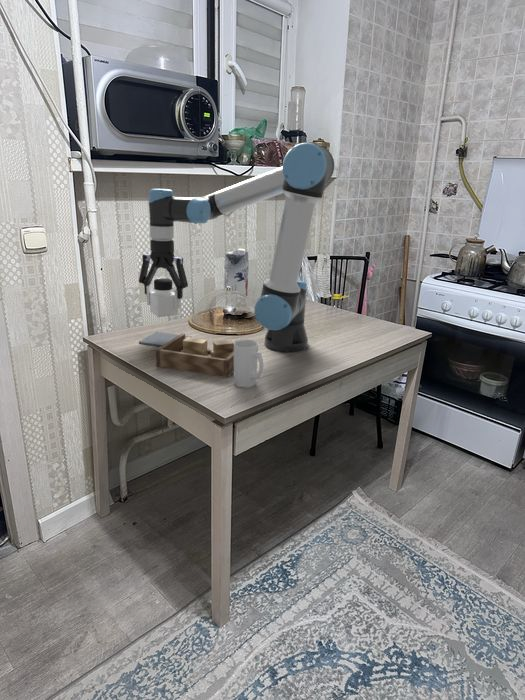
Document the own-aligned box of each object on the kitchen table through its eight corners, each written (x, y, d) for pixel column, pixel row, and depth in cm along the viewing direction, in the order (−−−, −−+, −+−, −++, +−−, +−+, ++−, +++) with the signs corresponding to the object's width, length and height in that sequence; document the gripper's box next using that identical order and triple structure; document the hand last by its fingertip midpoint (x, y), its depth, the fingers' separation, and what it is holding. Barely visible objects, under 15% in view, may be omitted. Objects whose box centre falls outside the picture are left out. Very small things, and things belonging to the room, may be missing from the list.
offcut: (207, 354, 156) (207, 339, 154) (202, 358, 152) (202, 343, 151) (187, 351, 157) (187, 337, 156) (183, 355, 154) (182, 340, 152)
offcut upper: (231, 348, 153) (231, 340, 152) (234, 352, 150) (234, 343, 149) (213, 350, 151) (213, 341, 150) (215, 353, 148) (215, 344, 147)
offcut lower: (237, 359, 153) (238, 350, 152) (234, 363, 149) (235, 354, 148) (213, 356, 154) (213, 348, 153) (210, 360, 151) (210, 352, 150)
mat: (191, 338, 170) (191, 336, 169) (175, 348, 159) (175, 347, 159) (156, 333, 173) (156, 331, 173) (138, 343, 162) (138, 341, 162)
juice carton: (222, 315, 198) (223, 250, 188) (228, 309, 207) (228, 246, 198) (243, 317, 197) (245, 251, 187) (248, 310, 206) (249, 247, 197)
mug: (228, 382, 135) (228, 342, 131) (245, 376, 139) (246, 337, 135) (253, 394, 128) (254, 352, 124) (270, 387, 133) (272, 347, 129)
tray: (246, 357, 153) (247, 342, 152) (227, 377, 138) (227, 360, 136) (182, 348, 160) (181, 333, 158) (156, 365, 144) (156, 349, 143)
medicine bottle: (178, 314, 162) (177, 280, 158) (158, 317, 158) (157, 282, 154) (169, 309, 167) (168, 275, 163) (150, 312, 163) (148, 277, 159)
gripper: (198, 240, 154) (198, 307, 162) (137, 235, 160) (140, 299, 168) (188, 243, 148) (188, 312, 155) (125, 237, 153) (128, 304, 161)
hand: (163, 305), depth 162 cm, fingers closed on medicine bottle, 10 cm apart
